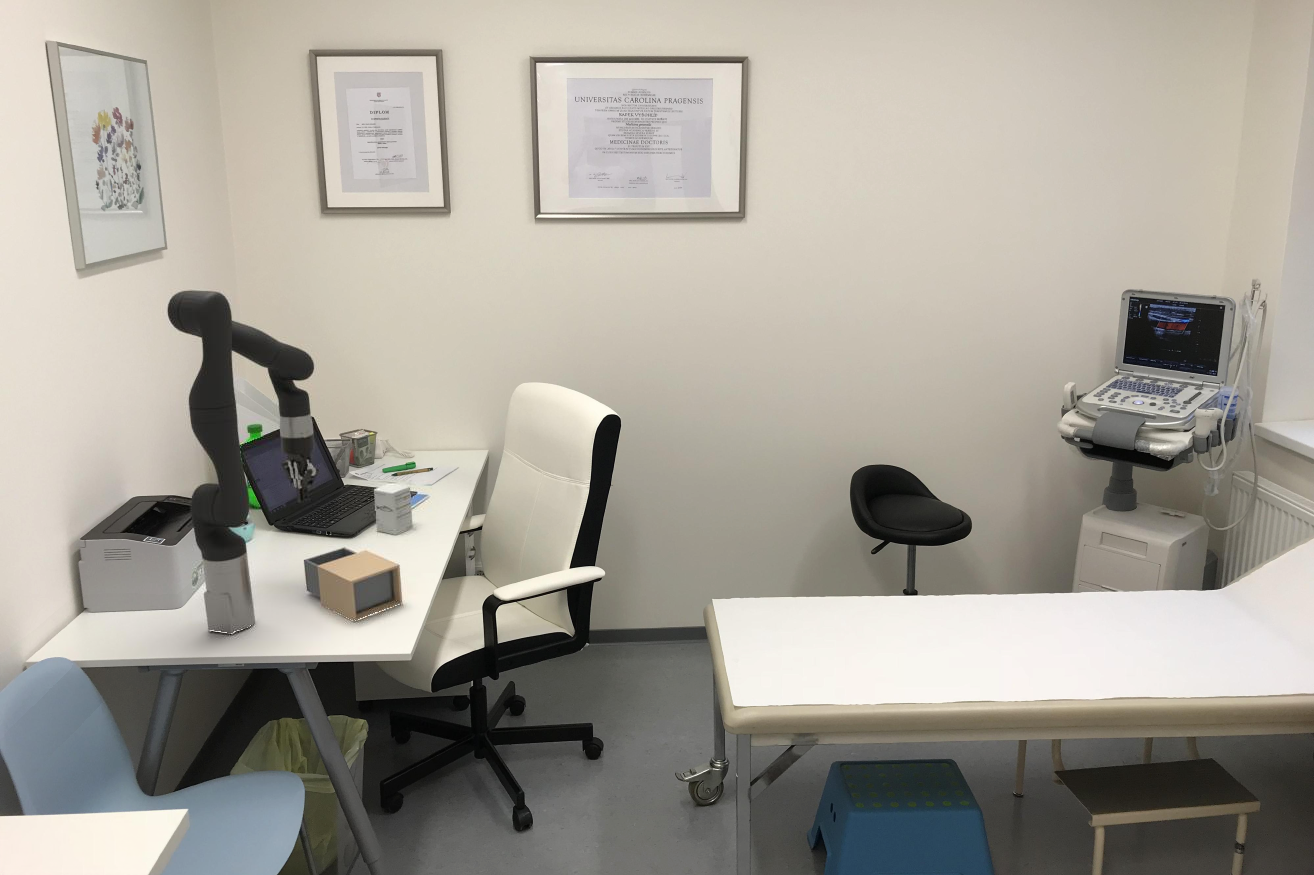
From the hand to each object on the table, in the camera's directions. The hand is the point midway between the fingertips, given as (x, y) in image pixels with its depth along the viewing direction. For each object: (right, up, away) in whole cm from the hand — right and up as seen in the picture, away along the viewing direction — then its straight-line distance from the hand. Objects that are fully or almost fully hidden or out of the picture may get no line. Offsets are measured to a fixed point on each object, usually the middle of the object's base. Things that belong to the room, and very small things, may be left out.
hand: (303, 501), depth 249 cm
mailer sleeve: (+17, -24, -9) cm, 30 cm away
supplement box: (+12, -11, +41) cm, 44 cm away
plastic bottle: (-34, -5, +62) cm, 71 cm away
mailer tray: (+13, -22, -6) cm, 26 cm away
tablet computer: (+7, -5, +62) cm, 63 cm away
